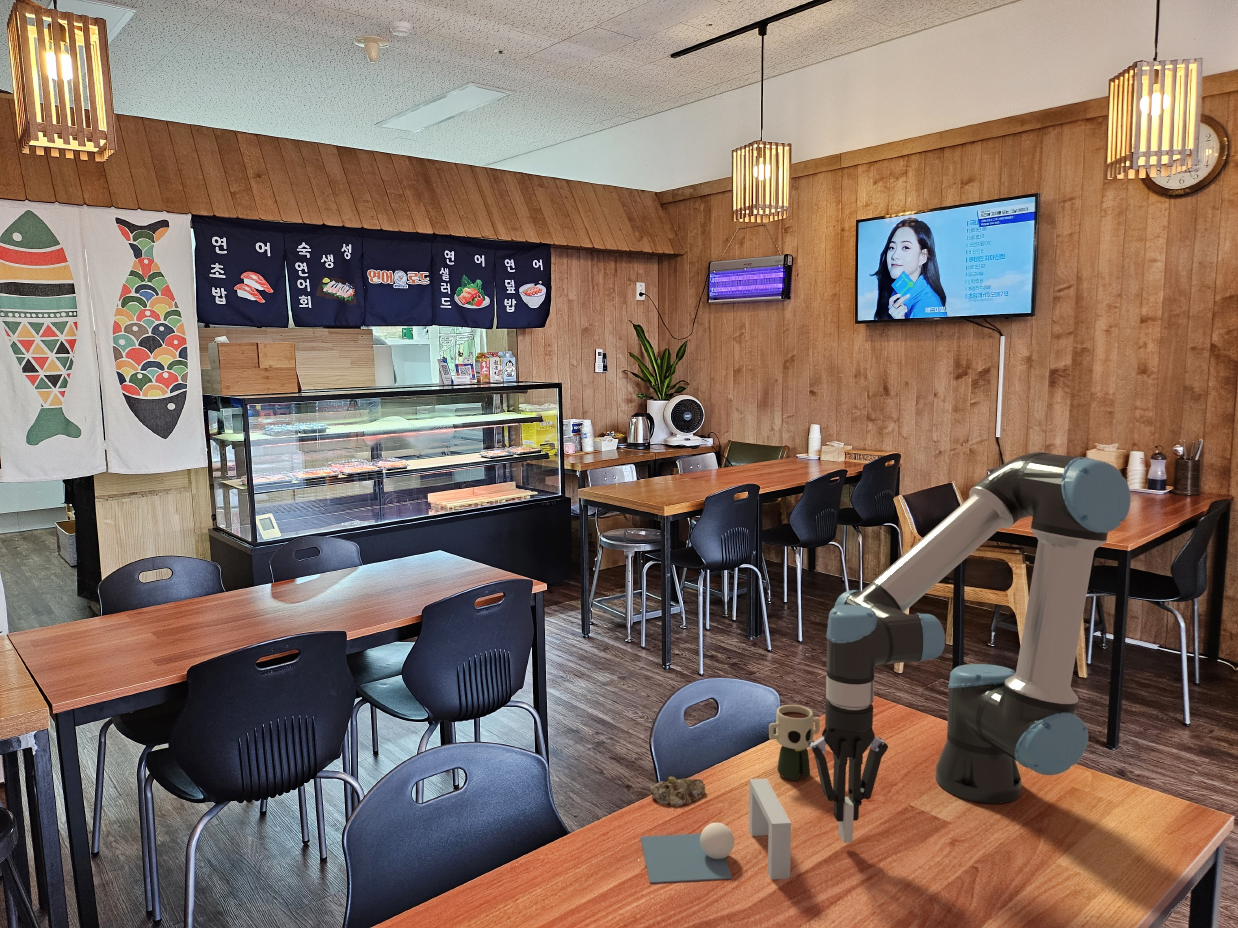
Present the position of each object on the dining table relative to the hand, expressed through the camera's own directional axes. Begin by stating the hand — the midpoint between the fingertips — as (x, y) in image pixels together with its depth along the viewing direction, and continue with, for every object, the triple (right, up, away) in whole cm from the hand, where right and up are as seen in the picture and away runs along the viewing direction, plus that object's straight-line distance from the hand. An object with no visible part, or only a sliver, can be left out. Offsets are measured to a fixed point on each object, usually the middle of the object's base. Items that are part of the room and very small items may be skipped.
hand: (845, 837), depth 141 cm
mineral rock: (-26, -1, +18) cm, 32 cm away
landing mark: (-27, -2, -2) cm, 27 cm away
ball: (-22, +1, -2) cm, 22 cm away
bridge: (-13, -2, -1) cm, 13 cm away
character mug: (-3, +1, +26) cm, 26 cm away
